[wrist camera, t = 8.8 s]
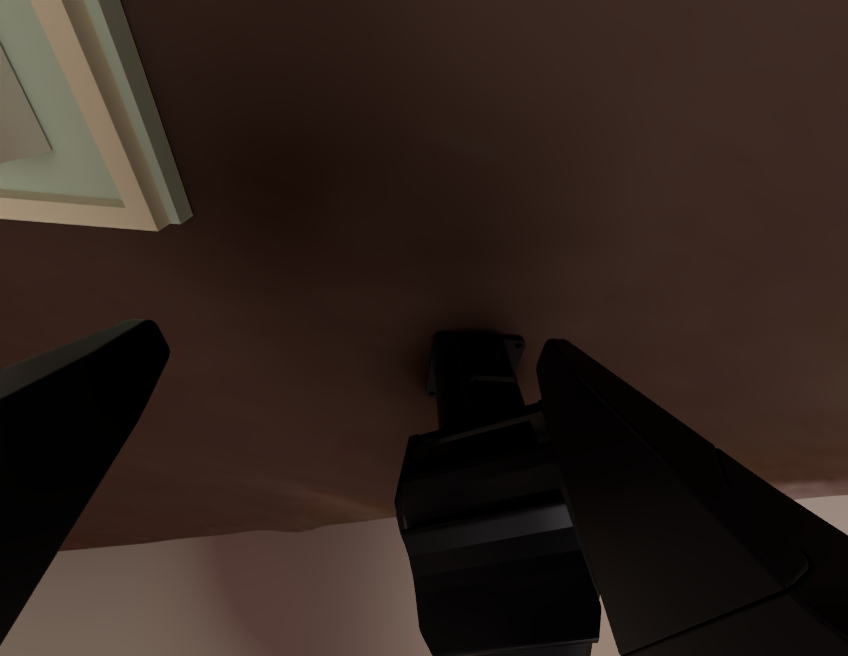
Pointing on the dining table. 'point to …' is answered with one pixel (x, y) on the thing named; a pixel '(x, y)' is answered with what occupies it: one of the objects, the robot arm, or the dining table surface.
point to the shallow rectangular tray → (87, 121)
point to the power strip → (17, 119)
